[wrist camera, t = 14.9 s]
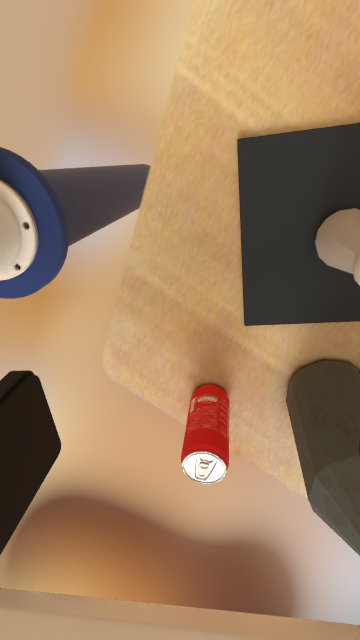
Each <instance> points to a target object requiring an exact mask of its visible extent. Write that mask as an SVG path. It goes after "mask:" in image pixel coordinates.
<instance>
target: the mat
mask: <svg viewBox="0 0 360 640" xmlns="http://www.w3.org/2000/svg"><path fill="white" fill-rule="evenodd" d="M237 141H238V167H239V193H240V219H241V246H242V272H243V298H244V324H245V326H252V325H277V324H301V323H325V322H350V321H360V285H359V284H358V283H357V282H356V281H355V279H354V275H353V274H351V273H348V272H346V271H343V270H340V269H337V268H334V267H331V266H328V265H327V264H326V263H325V262H324V261H323V260H321V259H320V258H319V256H318V252H317V248H316V244H315V241H316V237H317V232H318V229H319V228H320V227H321V225H322V224H323V222H324V221H325V220H326V218H328V217H330V216H331V215H333V214H335V213H336V212H338V211H340V210H347V209H353V208H356V209H359V210H360V123H356V124H349V125H341V126H334V127H326V128H318V129H311V130H303V131H296V132H288V133H281V134H273V135H266V136H258V137H251V138H243V139H238V140H237Z"/></svg>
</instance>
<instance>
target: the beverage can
mask: <svg viewBox="0 0 360 640" xmlns="http://www.w3.org/2000/svg"><path fill="white" fill-rule="evenodd" d="M181 463H182V468H183V471H184V473H185V474H186V476H187V477H188V478H190V479H191V480H193V481H195V482H198V483H203V484H211V483H215V482H218V481H220V480H221V479H222V478H223V477H224V476H225V473H226V470H227V468H228V465H229V399H228V397H227V395H226V394H225V392H224V391H223V389H221V388H220V387H218V386H216V385H212V384H206V385H203V386H201V387H199V388H198V389H197V390H196V391H195V392H194V393H193V395H192V397H191V401H190V407H189V413H188V419H187V425H186V431H185V437H184V443H183V448H182V454H181Z"/></svg>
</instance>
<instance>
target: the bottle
mask: <svg viewBox="0 0 360 640" xmlns="http://www.w3.org/2000/svg"><path fill="white" fill-rule="evenodd" d="M286 403H287V407H288V412H289V416H290V420H291V425H292V429H293V434H294V438H295V442H296V447H297V451H298V456H299V460H300V465H301V469H302V473H303V478H304V482H305V487H306V491H307V495H308V500H309V502H310V504H311V507H312V509H313V511H314V512H315V513H316V514H317V515H318V516H319V517H320V518H321V519H322V520H323V521H324V522H325V523H326V524H327V525H328V526H329V527H330V528H332V529H333V530H334V531H335V532H336V533H337V534H338V535H339V536H340V537H341V538H342V539H343V540H344V541H345V542H346V543H347V544H348V545H349V546H350V547H351V548H352V549H353V550H354V551H355V552H356V553H358V554H359V555H360V457H359V440H360V371H359V370H358V369H357V368H356V367H355V366H353V365H352V364H351V363H346V362H336V361H326V360H321V361H319V362H316V363H314V364H312V365H309V366H307V367H305V368H302V369H300V370H299V371H298V372H297V373H296V374H295V375H294V377H293V378H292V379H291V380H290V384H289V388H288V393H287V398H286Z"/></svg>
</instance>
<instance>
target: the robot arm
mask: <svg viewBox="0 0 360 640" xmlns="http://www.w3.org/2000/svg"><path fill="white" fill-rule="evenodd" d="M28 224H29V225H30V226H29V225H28ZM38 242H39V241H38V230H37V225H36V221H35V219H34V216H33V214H32V212H31V210H30V208H29V206H28V205H27V203H26V201H25V200H24V199H23V198H22V197H21V195H20V194H19V193H18V192H17V191H16V190H15V189H14V188H13V187H11V186H10V185H9V184H8V183H6V182H4V181H3V180H1V179H0V280H6V279H11V278H13V277H15V276H18V275H19V274H21V273H23V272H24V271H25V270H26V269H27V268H28V267H30V265H31V264H32V262H33V261H34V259H35V256H36V253H37V250H38ZM60 450H61V441H60V438H59V435H58V432H57V429H56V426H55V423H54V420H53V418H52V414H51V412H50V409H49V406H48V403H47V400H46V397H45V394H44V391H43V388H42V385H41V382H40V379H39V378H38V376H36V375H34V373H33V372H32V371H11V372H9V373H8V374H7V375H6V376H5V377H4V378H3V379H1V381H0V555H1V553H2V551H3V549H4V548H5V546H6V544H7V542H8V541H9V539H10V537H11V536H12V534H13V532H14V531H15V529H16V527H17V526H18V524H19V522H20V520H21V519H22V517H23V515H24V514H25V512H26V510H27V508H28V507H29V505H30V503H31V501H32V500H33V498H34V496H35V495H36V493H37V491H38V490H39V488H40V486H41V484H42V483H43V481H44V479H45V478H46V476H47V474H48V472H49V471H50V469H51V467H52V466H53V464H54V462H55V460H56V459H57V457H58V455H59V453H60ZM359 457H360V440H359ZM0 640H360V625H352V624H344V623H335V622H327V621H317V620H308V619H298V618H289V617H279V616H270V615H260V614H251V613H242V612H232V611H223V610H222V611H221V610H213V609H203V608H194V607H185V606H175V605H165V604H154V603H145V602H135V601H125V600H114V599H104V598H95V597H85V596H75V595H64V594H54V593H44V592H34V591H22V590H11V589H2V588H0Z"/></svg>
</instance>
